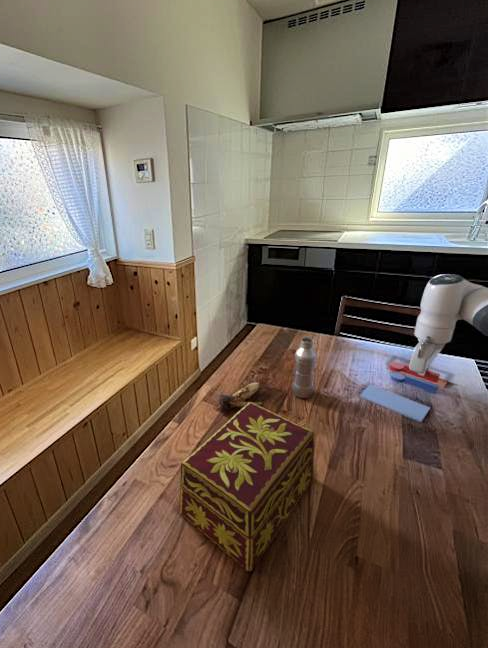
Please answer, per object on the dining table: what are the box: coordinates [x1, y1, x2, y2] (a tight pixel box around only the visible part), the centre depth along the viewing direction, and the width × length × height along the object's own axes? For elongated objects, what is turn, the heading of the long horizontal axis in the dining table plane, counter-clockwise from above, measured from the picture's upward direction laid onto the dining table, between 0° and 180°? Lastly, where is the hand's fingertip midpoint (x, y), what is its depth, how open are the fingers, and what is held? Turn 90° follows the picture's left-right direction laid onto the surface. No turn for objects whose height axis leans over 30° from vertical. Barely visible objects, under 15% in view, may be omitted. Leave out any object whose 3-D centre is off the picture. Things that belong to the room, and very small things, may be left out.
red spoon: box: [388, 361, 441, 383], centre depth 103 cm, size 13×4×2 cm, turn 42°
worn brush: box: [217, 381, 263, 413], centre depth 106 cm, size 9×5×18 cm
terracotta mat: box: [386, 364, 449, 389], centre depth 115 cm, size 17×8×1 cm, turn 42°
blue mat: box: [359, 384, 431, 423], centre depth 102 cm, size 17×8×1 cm, turn 42°
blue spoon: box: [390, 372, 439, 395], centre depth 110 cm, size 13×4×2 cm, turn 42°
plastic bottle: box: [291, 336, 318, 399], centre depth 105 cm, size 6×7×20 cm
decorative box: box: [179, 401, 315, 573], centre depth 74 cm, size 28×19×15 cm
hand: (423, 372), depth 101 cm, fingers closed on red spoon, 1 cm apart
